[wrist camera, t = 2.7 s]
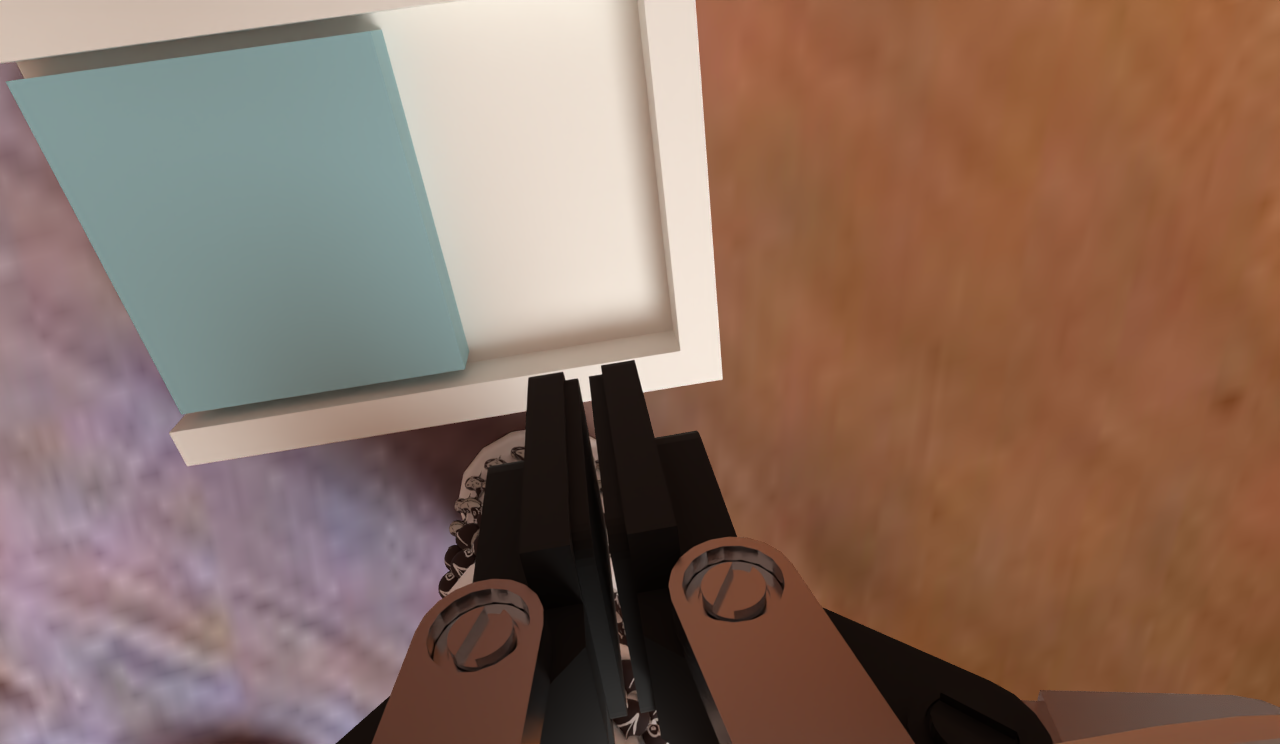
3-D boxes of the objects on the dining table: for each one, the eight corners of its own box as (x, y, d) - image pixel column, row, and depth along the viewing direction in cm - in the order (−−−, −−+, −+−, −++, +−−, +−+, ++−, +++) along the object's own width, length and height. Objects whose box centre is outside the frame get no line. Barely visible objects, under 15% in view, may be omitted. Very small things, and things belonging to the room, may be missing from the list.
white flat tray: (9, 5, 22) (-65, 5, 19) (672, -84, 23) (688, -95, 20) (219, 425, 30) (187, 466, 27) (707, 347, 31) (722, 379, 28)
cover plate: (40, 76, 22) (5, 81, 21) (381, 29, 22) (370, 31, 21) (200, 394, 28) (181, 414, 26) (469, 351, 28) (465, 369, 27)
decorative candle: (456, 572, 35) (294, 1513, 13) (443, 419, 31) (173, 1438, 9) (632, 567, 36) (754, 1421, 14) (644, 418, 32) (844, 1316, 10)
